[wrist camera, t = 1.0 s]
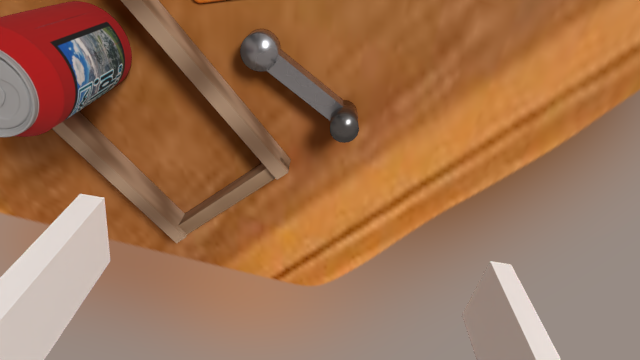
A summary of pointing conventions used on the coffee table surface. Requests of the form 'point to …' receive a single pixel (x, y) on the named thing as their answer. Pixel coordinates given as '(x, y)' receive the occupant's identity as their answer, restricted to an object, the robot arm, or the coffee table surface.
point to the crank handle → (300, 82)
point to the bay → (220, 96)
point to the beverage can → (57, 64)
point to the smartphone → (206, 1)
